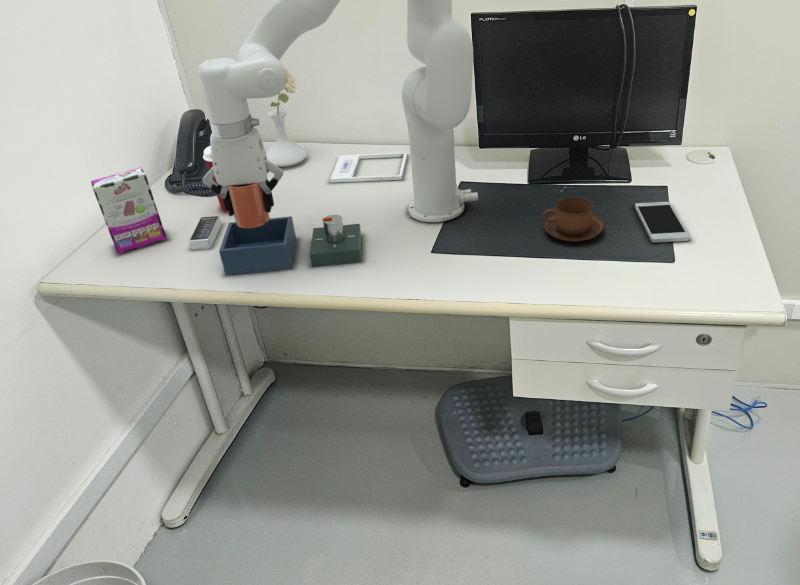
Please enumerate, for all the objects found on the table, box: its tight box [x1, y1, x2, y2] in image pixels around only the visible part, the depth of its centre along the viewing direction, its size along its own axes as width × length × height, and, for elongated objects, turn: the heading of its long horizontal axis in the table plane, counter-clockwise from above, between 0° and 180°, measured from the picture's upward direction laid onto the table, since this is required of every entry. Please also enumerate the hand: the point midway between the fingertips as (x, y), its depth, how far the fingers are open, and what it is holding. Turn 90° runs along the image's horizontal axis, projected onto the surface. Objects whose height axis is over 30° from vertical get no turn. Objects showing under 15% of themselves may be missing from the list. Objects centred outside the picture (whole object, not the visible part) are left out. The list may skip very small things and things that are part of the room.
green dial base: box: [309, 223, 362, 268], centre depth 148 cm, size 10×11×3 cm
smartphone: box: [634, 201, 690, 243], centre depth 145 cm, size 7×16×1 cm, turn 177°
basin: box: [218, 215, 297, 276], centre depth 148 cm, size 14×12×6 cm
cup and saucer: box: [542, 197, 605, 243], centre depth 144 cm, size 12×12×6 cm
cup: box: [228, 183, 271, 228], centre depth 142 cm, size 7×7×9 cm
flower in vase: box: [265, 68, 308, 168], centre depth 184 cm, size 13×11×25 cm
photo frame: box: [329, 152, 408, 183], centre depth 181 cm, size 15×1×18 cm
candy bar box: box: [90, 166, 168, 255], centre depth 155 cm, size 11×5×16 cm, turn 117°
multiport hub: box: [188, 215, 222, 251], centre depth 159 cm, size 4×11×2 cm, turn 0°
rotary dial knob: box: [322, 214, 345, 243], centre depth 146 cm, size 4×4×5 cm
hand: (250, 210), depth 143 cm, fingers closed on cup, 6 cm apart
